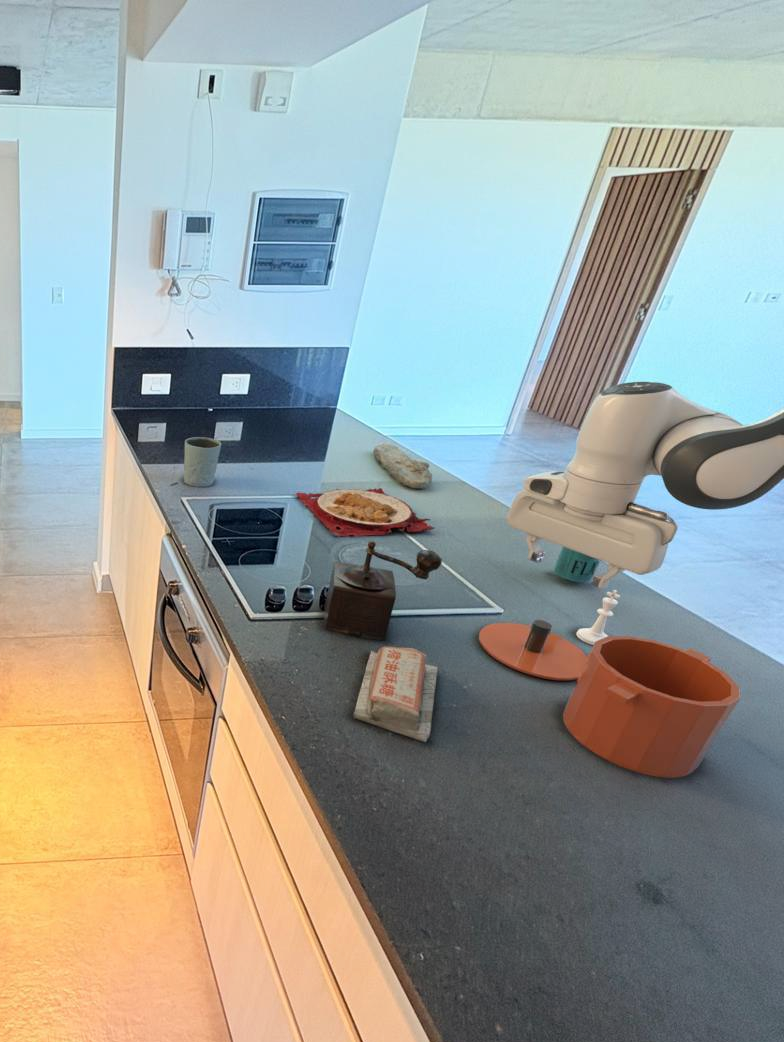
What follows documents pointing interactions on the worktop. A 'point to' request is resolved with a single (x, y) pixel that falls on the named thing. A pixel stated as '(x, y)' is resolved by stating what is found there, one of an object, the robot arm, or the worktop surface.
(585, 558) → the beverage bottle
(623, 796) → the worktop surface
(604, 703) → the pot
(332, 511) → the plate with food
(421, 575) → the brown manual coffee grinder
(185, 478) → the green ceramic cup
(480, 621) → the worktop surface
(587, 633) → the chess piece
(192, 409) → the worktop surface
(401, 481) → the long grey stone
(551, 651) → the lid
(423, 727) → the packaged product
